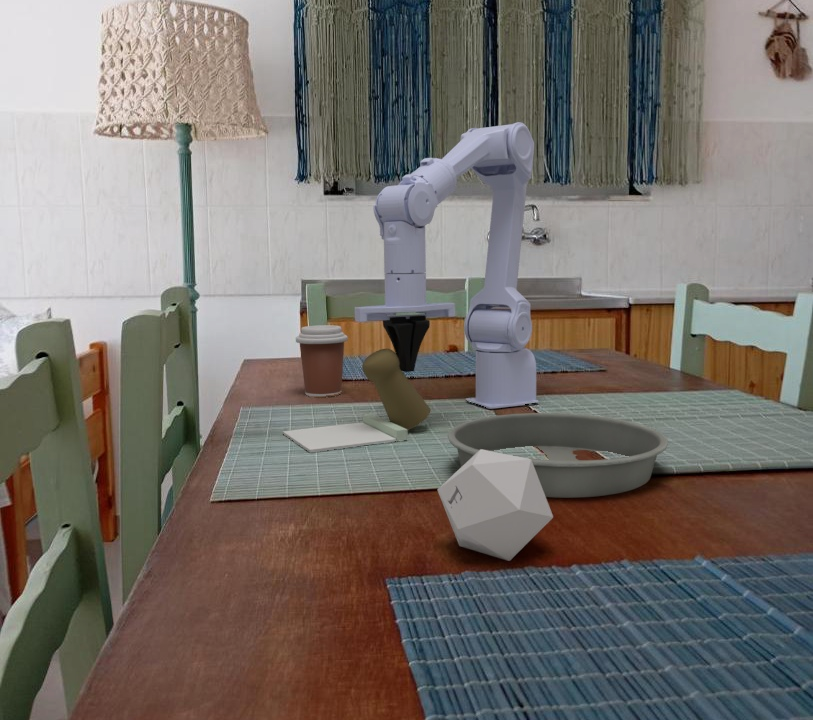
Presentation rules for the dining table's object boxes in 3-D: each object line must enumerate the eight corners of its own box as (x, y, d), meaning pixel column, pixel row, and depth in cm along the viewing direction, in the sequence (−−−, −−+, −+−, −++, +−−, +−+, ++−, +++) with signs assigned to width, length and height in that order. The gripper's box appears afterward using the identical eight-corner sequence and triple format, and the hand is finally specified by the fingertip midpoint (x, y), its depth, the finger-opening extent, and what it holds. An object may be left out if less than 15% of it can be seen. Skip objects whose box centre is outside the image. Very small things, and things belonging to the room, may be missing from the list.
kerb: (372, 423, 120) (372, 413, 119) (407, 440, 109) (407, 429, 109) (363, 424, 119) (363, 414, 119) (397, 441, 108) (397, 430, 108)
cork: (434, 401, 117) (399, 337, 113) (425, 424, 112) (387, 358, 108) (398, 413, 119) (362, 351, 116) (388, 436, 114) (350, 372, 111)
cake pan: (636, 519, 77) (637, 472, 76) (409, 485, 89) (408, 445, 88) (686, 458, 98) (688, 422, 98) (497, 438, 110) (497, 405, 110)
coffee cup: (287, 397, 142) (285, 329, 141) (313, 388, 151) (310, 324, 149) (334, 400, 139) (332, 330, 137) (357, 391, 147) (356, 325, 145)
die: (455, 533, 75) (409, 462, 70) (538, 483, 75) (499, 409, 70) (489, 599, 68) (441, 526, 63) (581, 544, 68) (541, 467, 63)
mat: (362, 424, 119) (362, 422, 119) (396, 441, 108) (396, 439, 108) (282, 434, 114) (282, 431, 114) (310, 452, 103) (309, 449, 103)
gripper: (438, 271, 119) (439, 363, 121) (345, 274, 113) (348, 371, 115) (462, 272, 113) (462, 369, 115) (364, 275, 107) (367, 377, 108)
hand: (406, 370), depth 114 cm, fingers closed
